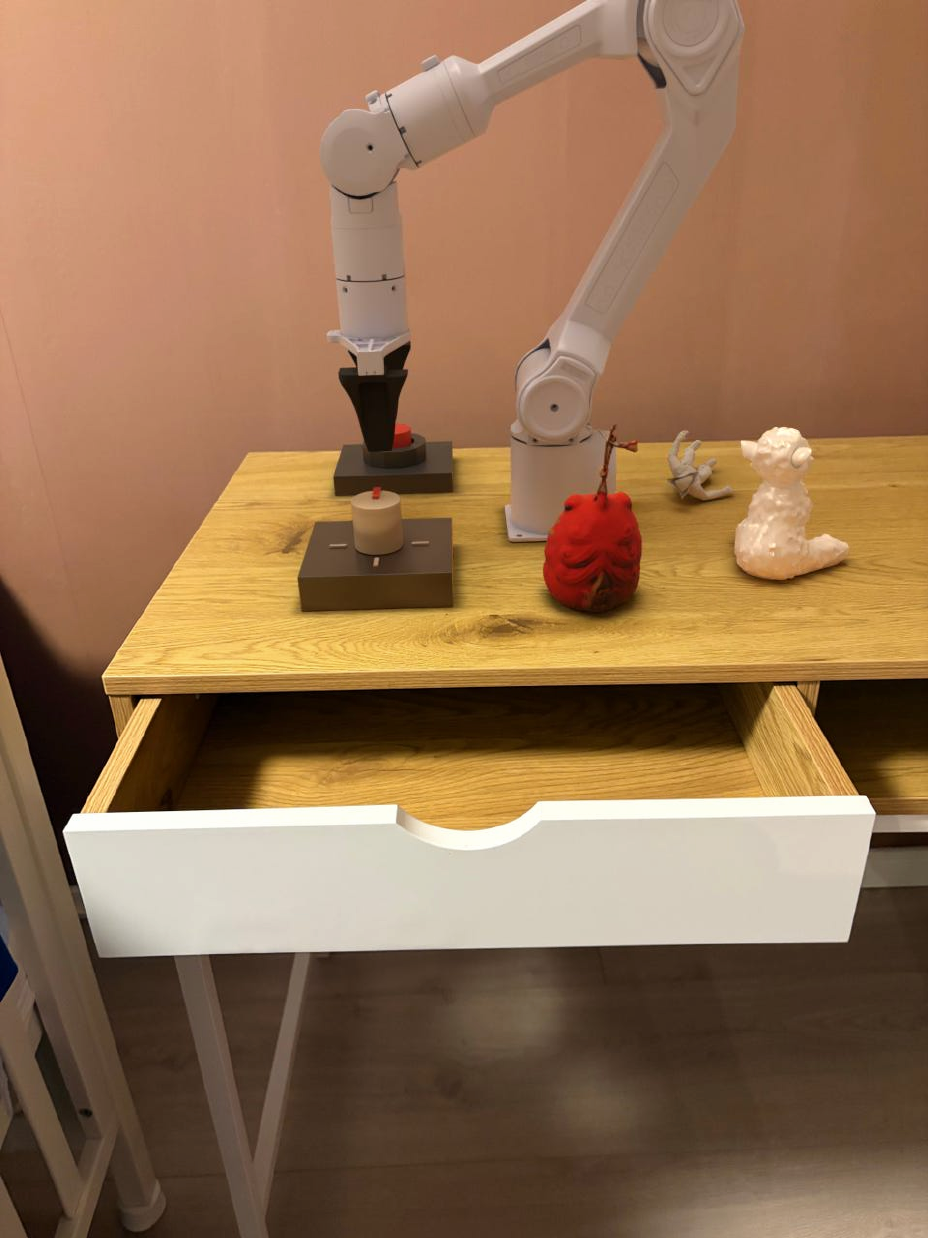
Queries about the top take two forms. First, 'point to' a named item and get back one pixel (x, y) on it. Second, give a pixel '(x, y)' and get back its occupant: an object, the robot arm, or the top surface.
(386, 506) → the dial knob
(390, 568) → the dial panel
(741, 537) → the sitting furry creature
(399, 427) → the button
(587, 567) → the red clay folk toy
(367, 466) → the button box
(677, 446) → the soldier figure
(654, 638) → the top surface
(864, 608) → the top surface
